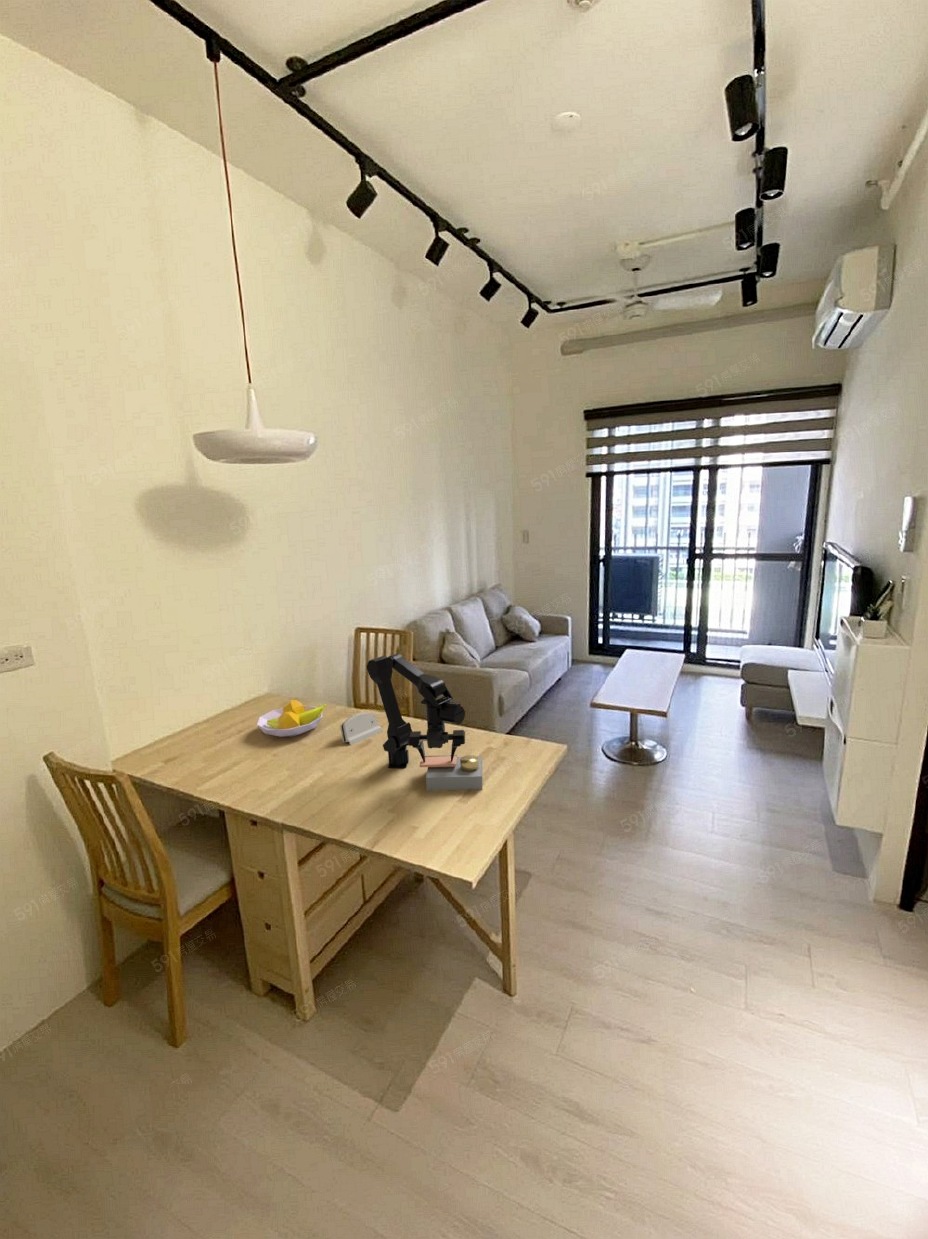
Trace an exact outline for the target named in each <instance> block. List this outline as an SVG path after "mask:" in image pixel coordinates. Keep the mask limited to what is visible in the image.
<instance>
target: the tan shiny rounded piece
mask: <svg viewBox="0 0 928 1239" xmlns="http://www.w3.org/2000/svg"><path fill="white" fill-rule="evenodd" d="M461 757H462V758H461V759H460V766H461V770H462V771H464V772H474V771H476V770H478V768H479V762H478V756H476V755H471V754H470V755H469V754H468V755H464V756H461Z"/></svg>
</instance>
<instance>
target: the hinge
mask: <svg viewBox="0 0 928 1239" xmlns="http://www.w3.org/2000/svg"><path fill="white" fill-rule="evenodd" d="M339 727H340V728H339V729H340V733H341V739H342V743H349V745H350V746H352V745H355V744H356V743H360V742H362V741H364V740H367V739H369V738H371V737H374V736H376V735H378V734H380V733H382V732H383V729H382V727H381V726H380V724H379V722H378V719H377V718H376V715H375V713H373V712H362V713H357V714H354V715H352V716H350V717H349V718H347V719H345V720H344V721H343V722H342V723H341V724H340V725H339Z"/></svg>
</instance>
